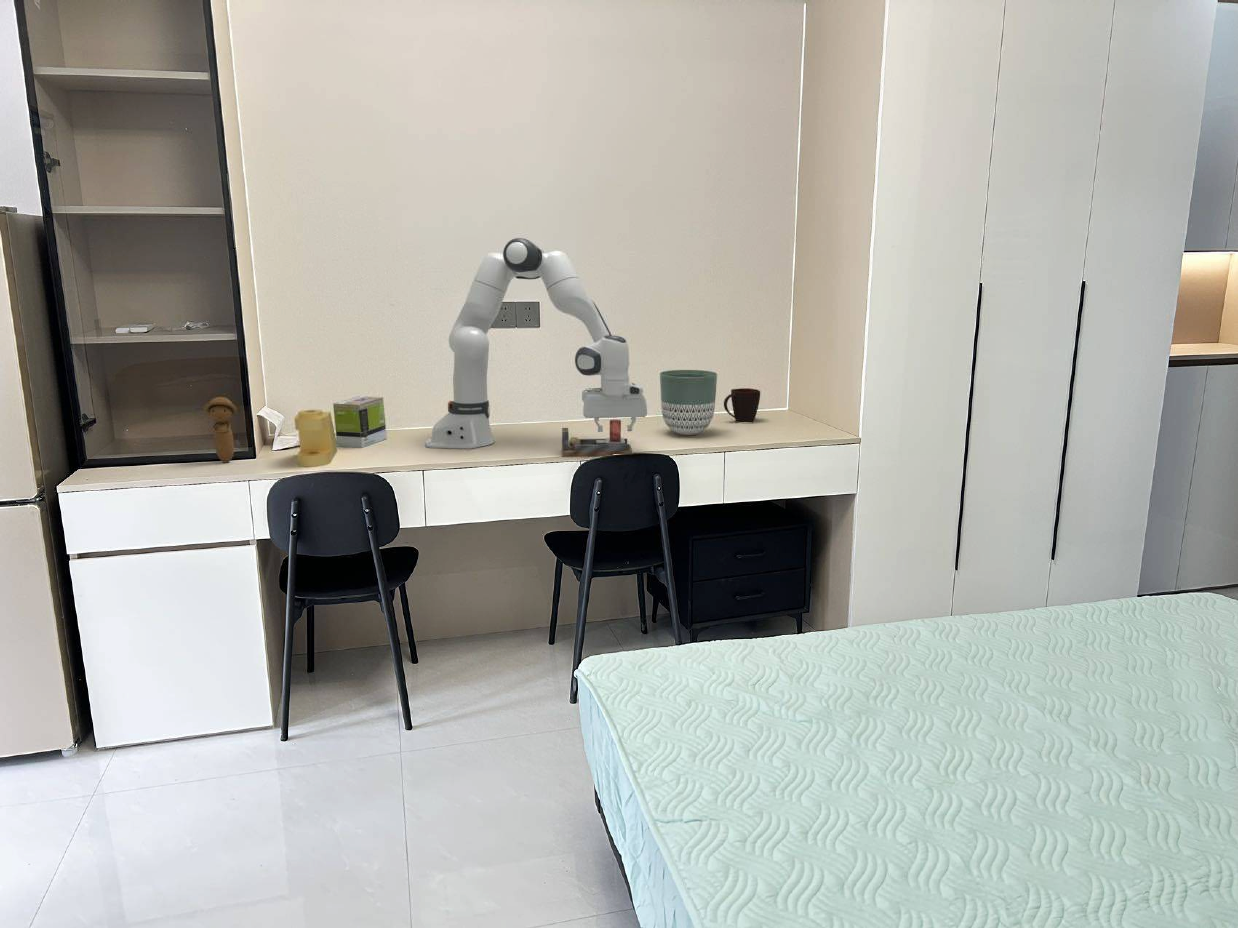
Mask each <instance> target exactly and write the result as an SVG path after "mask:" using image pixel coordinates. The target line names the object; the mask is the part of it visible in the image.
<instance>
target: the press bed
mask: <svg viewBox="0 0 1238 928" xmlns="http://www.w3.org/2000/svg"><path fill="white" fill-rule="evenodd" d="M569 438H570V437H569V427H562V428H561V454H562V458H563V457H565V458H566V457H569V458H571V457H572V458H574V457H575V458H576V457H607V456H606V455H613V454H633V453H634V452H633V448H632V446H631V444H630V443H628V438H624V437H623V438H624V440H625V444H603V445H596V440H605V438H578V439H579V440H580V445H575V446H570V445H569V441H570V439H569Z"/></svg>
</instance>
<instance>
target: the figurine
mask: <svg viewBox="0 0 1238 928" xmlns="http://www.w3.org/2000/svg"><path fill="white" fill-rule="evenodd" d="M203 408H204V412H205V413H206V414H208V415H209V416H210V418H211V419H212V420H213V421H214V422H215V423H214V425H213V426H212V429H213V444H214V449H215V454H216V455H217V457H218V459H219V460H220V461H221V462H223V463H229V462H230V461H231V460H232V458H233V456H234V453H235V442H234V441H235V440H234V435H233V434H234V433H233V430H232V429H231V424H230V422H229V420H230V419H231V418H232V416H234V415H236V413H237V412H238V408H237V406H236V405H235V404H233V402H232V401H231V400H230V399H229V398H227V397H223V396H218V397H214V398H213V399H211V400H210V401H209V402H207V403H206V404H205V405H204V407H203Z"/></svg>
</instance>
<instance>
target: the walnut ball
mask: <svg viewBox="0 0 1238 928" xmlns="http://www.w3.org/2000/svg"><path fill="white" fill-rule="evenodd" d="M579 439H580V438H578V437H575V436H574V437H571V438H570V439H569V445H570V446H575V445H580V440H579Z"/></svg>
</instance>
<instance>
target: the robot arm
mask: <svg viewBox="0 0 1238 928" xmlns="http://www.w3.org/2000/svg"><path fill="white" fill-rule="evenodd" d="M573 264H574V263H572V261H571V260H570V258H569V256H568V254H566V253H565V252H564V251H562V250H551V251H550V252H546V253H545V252H544V250H542V248H540V247H539V246H538V245H537V244H535V243H534V242H532V241H530V240H528V239H527V238H523V237H515V238H513V239H511V240H509V241H508V242H507V243H506V245H505V246H504V248H503V251H502V253H501V252H489V253H487V254H486V255H485V257H484V258H483V260H482V262H481V263H480V265H479V267H478V269H477V271H476V272H475V275H474V278H473V281H472V284H471V286H470V289H469V290H468V294H467V296H466V299H465V301H464V304H463V306H462V307H461V310H460V311H459V314H458V315H457V318H456V320H455V321H454V325H453V327H452V329H451V332H450V333H449V336H448V344H449V345H448V346H449V347H450V350H451V351H452V352H453V353H454V358H453V359H454V360H453V361H454V363H453V376H452V387H453V388H452V389H453V392H452V393H453V400H449V401H448V403H447V412H448V413H446V415H444V416H443V417H442V418H441V419H439V420H438V421H437V422H436V423H435V424H434V425H433V427H432V431H431V437H429V438H427V439H426V440H425V443H424V445H425V447H427V448H431V449H432V448H433V449H434V448H437V449H465V450H466V449H467V450H468V449H471V450H472V449H476V448H480V447H485V446H489V445H491V444H494V442H495V440H494V438H493V434H492V431H491V425H490V424H491V423H490V414H491V413H490V412H491V411H490V410H491V409H490V401H489V399H488V369H489V367H488V366H489V352H490V350H489V347H490V342H489V337H488V336H487V335H488V332H489V330H490V328H491V326H492V324H493V323H494V321H495V319H496V318H497V317H498V314H499V311H500V309H501V307H502V304H503V300H504V298H505V295H506V293H507V290H508V287H509V285H510V283H511V282H512V280H513V279H514V278H516V279H518V280H537V279H540V278H541V280H542V282H543V284H544V287H545V289H546V292H547V294H548V297H549V300H550V301H551V303H552V305H553V306H554V307H555V309H556V310H558V311H559V312H561V313H563V314H567V315H569V316H572V317H574V318H576V319H578V320H579V321H581V322H582V323H583V324H584V325H585V327H586V329H587V330H588V333H589V336H591V339H592V341H593V343H590V344H588V345H584V346H581V347H580V348H579V349H578V350H577V351H576V353H575V357H574V364H575V368H576V369H577V371H578V372H579V373H580V374H581V375H583V376H586V377H592V376H599V375H600V387H594V388H590V387H588V388H587V387H586V389H584V390H583V391H582V393H581V400H582V402H583V407H582V410H583V412H582V413H583V414H582V415H583V417H584V418H585V419H594V422H595V424H596V426H597V432H599V433H600V432H601V433H602V432H603V431H604V429H603V427H604V426H603V425H602V424H601V425H600V423H599V422H600V419H602V418H603V419H604V418H610V419H611V418H614V419H616V418H618V419H619V418H630V420H631V422H630V424H627V425H626V426H627V428H626V429H627V432H633V426H634V425H635V423H636V422H637V421H636V420H637V418H645V417H646V416H647V415H648V407H647V399H646V398H645V397H646V396H644V387H643V386H642V385H640V384H637V383H633V382H631V381H630V376H629V366H630V350H629V345H628V342H627V339H625V338H624V337H622V336H619V335H614V334H613V335H612V333H611V331H610V330H609V327H608V325H607V323H606V322H605V319H604V317H603V316H602V313H601V312H600V310H599V308H598V307H597V304H596V303H595V302H594V301H593V300H592V298H591V297H590V296H589V295H588V293H587V291H586V290H585V288H584V286H583V284H582V282H581V279H580V277H579V274H578V272H577V270H576V268H575V266H574V265H573Z"/></svg>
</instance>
